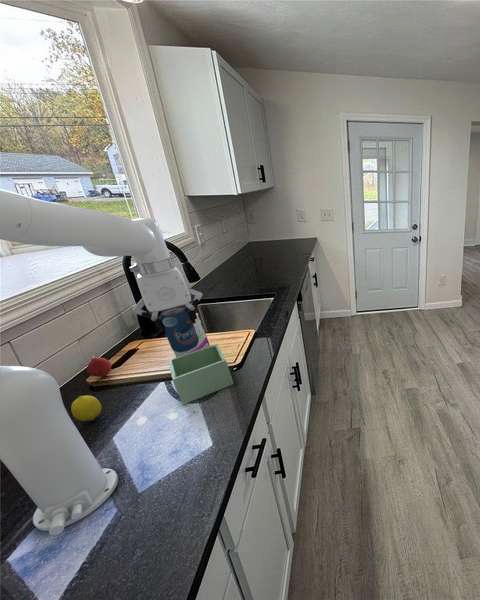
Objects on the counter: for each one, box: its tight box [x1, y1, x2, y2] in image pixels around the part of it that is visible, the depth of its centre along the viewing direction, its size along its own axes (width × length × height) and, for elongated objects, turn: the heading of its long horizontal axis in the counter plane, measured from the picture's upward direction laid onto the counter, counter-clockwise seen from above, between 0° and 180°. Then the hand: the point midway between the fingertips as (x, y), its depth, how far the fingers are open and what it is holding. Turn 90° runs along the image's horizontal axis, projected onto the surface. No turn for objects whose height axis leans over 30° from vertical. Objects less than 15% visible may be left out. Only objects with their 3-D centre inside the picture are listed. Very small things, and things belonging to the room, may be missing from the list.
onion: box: [86, 355, 112, 378], centre depth 104 cm, size 6×6×8 cm
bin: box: [167, 343, 235, 406], centre depth 97 cm, size 14×14×9 cm
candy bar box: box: [172, 312, 211, 358], centre depth 108 cm, size 11×5×16 cm, turn 179°
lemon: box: [70, 395, 102, 422], centre depth 85 cm, size 6×6×8 cm
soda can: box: [159, 306, 199, 353], centre depth 90 cm, size 7×7×12 cm
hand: (178, 325), depth 89 cm, fingers closed on soda can, 7 cm apart
